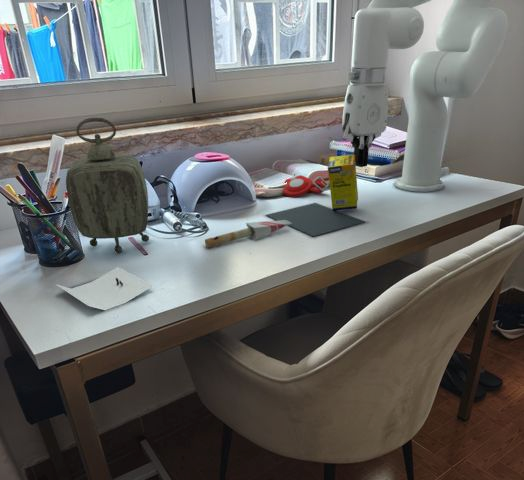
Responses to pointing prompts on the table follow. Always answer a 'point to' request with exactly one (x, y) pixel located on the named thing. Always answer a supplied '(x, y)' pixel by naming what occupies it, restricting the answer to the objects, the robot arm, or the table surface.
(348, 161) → the supplement box
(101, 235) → the tabletop clock
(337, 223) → the mat
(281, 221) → the paintbrush
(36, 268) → the table surface
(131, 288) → the folded paper
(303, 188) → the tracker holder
